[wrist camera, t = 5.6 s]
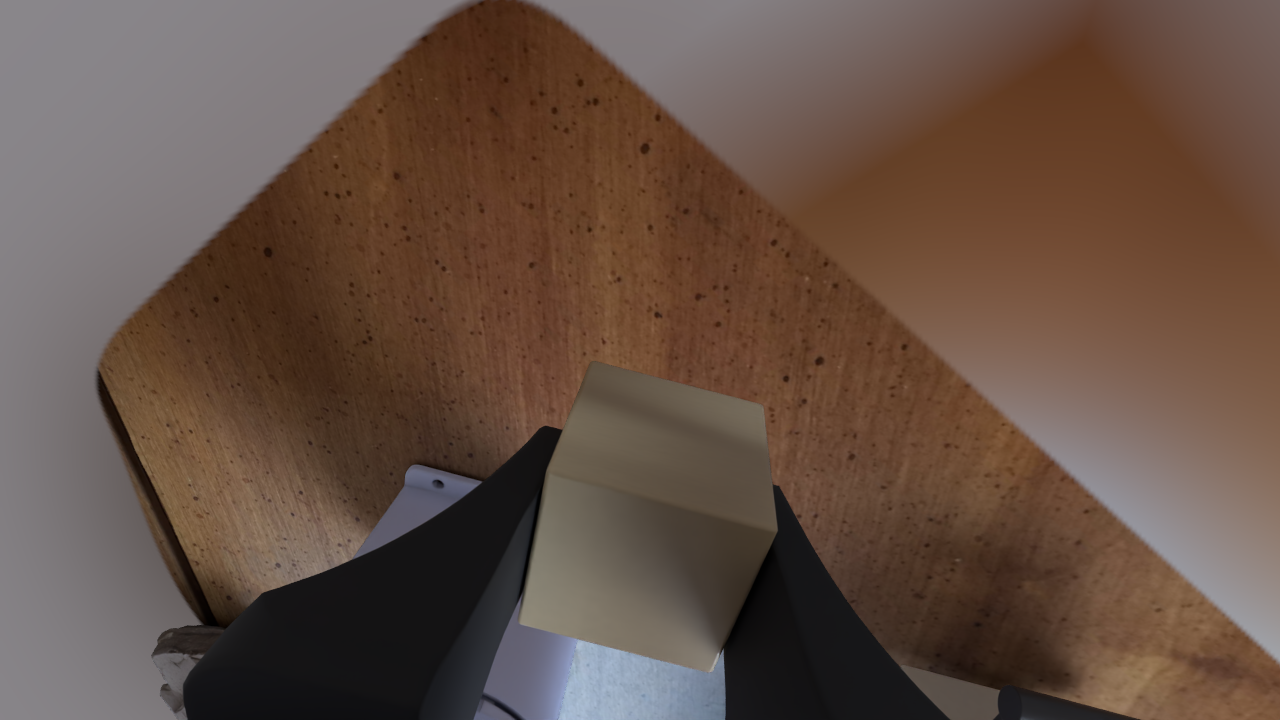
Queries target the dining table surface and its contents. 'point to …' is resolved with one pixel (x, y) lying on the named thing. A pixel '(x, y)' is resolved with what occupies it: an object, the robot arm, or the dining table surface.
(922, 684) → the drawer
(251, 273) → the dining table surface
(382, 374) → the dining table surface
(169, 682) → the rock
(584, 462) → the block
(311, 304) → the dining table surface
